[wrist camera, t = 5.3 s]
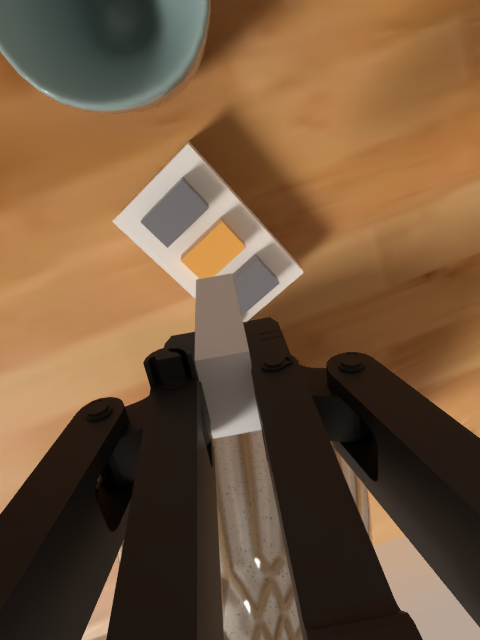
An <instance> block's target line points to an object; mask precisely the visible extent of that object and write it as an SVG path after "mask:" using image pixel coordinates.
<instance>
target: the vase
mask: <svg viewBox="0 0 480 640" xmlns="http://www.w3.org/2000/svg"><path fill="white" fill-rule="evenodd" d="M211 439H212V443H213V447H214V455H215V474H216V494H217V514H218V533H219V553H220V572H221V592H222V611H223V631H224V640H303V638H302V633H301V628H300V623H299V618H298V613H297V608H296V603H295V598H294V593H293V588H292V583H291V578H290V573H289V567H288V562H287V557H286V552H285V547H284V542H283V537H282V532H281V527H280V522H279V517H278V512H277V507H276V502H275V497H274V492H273V487H272V482H271V477H270V472H269V467H268V462H267V459H266V453H265V447H264V441H263V436H262V430H258V431H253V432H247V433H242V434H236V435H231V436H225V437H220V438H214V439H213V437H212V432H211ZM330 442H331V444H332V447H333V449H334V452H335V454H336V457H337V459H338V462H339V464H340V467H341V469H342V471H343V474H344V476H345V479H346V481H347V484H348V486H349V489H350V491H351V494H352V496H353V498H354V501H355V503H356V506H357V508H358V511H359V513H360V516H361V518H362V521H363V523H364V525H365V528H366V530H367V533H368V535H369V538H370V540H371V543H372V523H371V512H370V503H369V496H368V491H367V488H366V486H365V485H364V484H363V483H362V481H361V480H360V479H359V478H358V476H357V475H356V474H355V473H354V472H353V470H352V469H351V468H350V467H349V465H348V464H347V463H346V462H345V460H344V459H343V458H342V457H341V455H340V454H339V453H338V452H337V451H336V449H335V447H334V445H333V443H332V441H330ZM123 543H124V541H123ZM123 543H122V545H121V548H120V550H119V552H118V560H119V565H120V560H121V554H122V548H123Z"/></svg>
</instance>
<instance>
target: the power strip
mask: <svg viewBox="0 0 480 640" xmlns="http://www.w3.org/2000/svg"><path fill="white" fill-rule="evenodd" d="M112 222H113V223H114V224H116V225H117V226H118V227H119V228H120V229H121V230H122V231H123V232H124V233H125V234H126V235H127V236H128V237H129V238H131V239H132V240H133V241H134V242H135V243H136V244H137V245H138V246H139V247H140V248H141V249H142V250H143V251H145V252H146V253H147V254H148V255H149V256H150V257H151V258H152V259H153V260H154V261H155V262H156V263H157V264H159V265H160V266H161V267H162V268H163V269H164V270H165V271H166V272H167V273H168V274H169V275H170V276H171V277H173V278H174V279H175V280H176V281H177V282H178V283H179V284H180V285H181V286H182V287H183V288H184V289H185V290H186V291H188V292H189V293H190V294H191V295H192V296H193V297H194V298H195V299H196V280H197V279H202V278H208V277H214V276H219V275H225V274H230V273H232V275H233V280H234V284H235V289H236V293H237V298H238V302H239V307H240V312H241V316H242V321H243V322H247V321H248V320H249V319H250V318H252V317H253V316H254V315H255V314H256V313H257V312H259V311H260V310H261V309H262V308H263V307H264V306H266V305H267V304H268V303H269V302H270V301H271V300H272V299H274V298H275V297H276V296H277V295H278V294H279V293H281V292H282V291H283V290H284V289H285V288H286V287H288V286H289V285H290V284H291V283H292V282H293V281H295V280H296V279H297V278H298V277H299V276H300V275H301V274H303V273H304V272H303V270H302V269H301V267H300V266H299V264H298V263H297V261H296V260H295V259H294V258H293V257H292V255H291V254H290V253H289V252H288V251H287V250H286V249H285V248H284V247H283V245H282V244H281V243H280V242H279V241H278V240H277V239H276V238H275V236H274V235H273V234H272V233H271V232H270V231H269V230H268V229H267V228H266V226H265V225H264V224H263V223H262V222H261V221H260V220H259V219H258V218H257V216H256V215H255V214H254V213H253V212H252V211H251V210H250V209H249V208H248V206H247V205H246V204H245V203H244V202H243V201H242V200H241V199H240V197H239V196H238V195H237V194H236V193H235V192H234V191H233V190H232V189H231V187H230V186H229V185H228V184H227V183H226V182H225V181H224V180H223V179H222V177H221V176H220V175H219V174H218V173H217V172H216V171H215V170H214V169H213V167H212V166H211V165H210V164H209V163H208V162H207V161H206V160H205V159H204V157H203V156H202V155H201V154H200V153H199V152H198V151H197V150H196V148H195V147H194V146H193V145H192V144H191V143H190V142H189V141H188V142H187V143H186V144H185V145H184V147H183V148H182V149H181V150H180V151H179V152H178V153H177V154H176V155H175V156H174V157H173V158H172V159H171V160H170V161H169V162H168V163H167V164H166V165H165V166H164V167H163V168H162V169H161V170H160V171H159V172H158V173H157V174H156V176H155V177H154V178H153V179H152V180H151V181H150V182H149V183H148V184H147V185H146V186H145V187H144V188H143V189H142V190H141V191H140V192H139V193H138V194H137V195H136V196H135V197H134V198H133V199H132V200H131V201H130V202H129V203H128V205H127V206H126V207H125V208H124V209H123V210H122V211H121V212H120V213H119V214H118V215H117V217H116V218H115V219H114V220H113V221H112Z"/></svg>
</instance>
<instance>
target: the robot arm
mask: <svg viewBox="0 0 480 640" xmlns="http://www.w3.org/2000/svg"><path fill="white" fill-rule="evenodd" d="M143 363H144V367H145V370H146V373H147V377H148V380H149V383H150V387H151V389H150V395H149V396H148V397H146V398H145V399H143V400H141V401H139V402H136V403H134V404H131V405H129V406H126V407H125V406H124V404H123V401H122V400H120V399H118V398H114V397H107V398H100V399H97V400H94V401H92V402H90V403H89V404H87V405H85V406H84V407H82V408H81V409H80V410H79V411H78V412H77V413H76V415H75V416H74V417H73V419H72V420H71V421H70V423H69V424H68V425H67V427H66V428H65V429H64V431H63V432H62V433H61V435H60V436H59V437H58V439H57V440H56V441H55V443H54V444H53V445H52V447H51V448H50V449H49V451H48V452H47V453H46V455H45V456H44V457H43V459H42V460H41V461H40V463H39V464H38V465H37V467H36V468H35V469H34V470H33V472H32V473H31V474H30V476H29V477H28V478H27V480H26V481H25V482H24V484H23V485H22V486H21V488H20V489H19V490H18V492H17V493H16V494H15V496H14V497H13V498H12V500H11V501H10V502H9V504H8V505H7V506H6V508H5V509H4V510H3V512H2V513H1V514H0V640H81V639H82V636H83V634H84V632H85V629H86V627H87V625H88V622H89V620H90V618H91V615H92V613H93V611H94V608H95V606H96V604H97V601H98V599H99V597H100V594H101V592H102V590H103V587H104V585H105V583H106V580H107V578H108V576H109V573H110V571H111V569H112V566H113V564H114V562H115V559H116V557H117V555H118V552H119V550H120V548H121V545H122V543H123V541H124V543H123V548H122V554H121V560H120V565H119V571H118V577H117V582H116V588H115V594H114V599H113V605H112V611H111V616H110V622H109V628H108V633H107V639H106V640H224V631H223V611H222V592H221V572H220V553H219V533H218V514H217V494H216V474H215V455H214V447H213V443H212V439H211V432H212V437H213V439H214V438H220V437H225V436H231V435H236V434H242V433H247V432H253V431H258V430H262V436H263V441H264V447H265V453H266V459H267V462H268V467H269V472H270V477H271V482H272V487H273V492H274V497H275V502H276V507H277V512H278V517H279V522H280V527H281V532H282V537H283V542H284V547H285V552H286V557H287V562H288V567H289V573H290V578H291V583H292V588H293V593H294V598H295V603H296V608H297V613H298V618H299V623H300V628H301V633H302V638H303V640H423V639H422V637H421V635H420V633H419V631H418V629H417V627H416V625H415V623H414V621H413V620H412V618H411V617H410V616H409V614H408V613H407V612H404V611H401V610H400V608H399V607H398V605H397V603H396V601H395V599H394V597H393V595H392V592H391V590H390V587H389V584H388V582H387V580H386V577H385V575H384V572H383V570H382V567H381V565H380V563H379V560H378V557H377V555H376V552H375V550H374V548H373V545H372V543H371V540H370V538H369V535H368V533H367V530H366V528H365V525H364V523H363V521H362V518H361V516H360V513H359V511H358V508H357V506H356V503H355V501H354V498H353V496H352V494H351V491H350V489H349V486H348V484H347V481H346V479H345V476H344V474H343V471H342V469H341V467H340V464H339V462H338V459H337V457H336V454H335V452H334V449H333V447H332V444H331V442H330V441H332V443H333V445H334V447H335V449H336V451H337V452H338V453H339V454H340V455H341V457H342V458H343V459H344V460H345V462H346V463H347V464H348V465H349V467H350V468H351V469H352V470H353V472H354V473H355V474H356V475H357V476H358V478H359V479H360V480H361V481H362V483H363V484H364V485H365V486H366V488H367V489H368V490H369V491H370V493H371V494H372V495H373V496H374V497H375V499H376V500H377V501H378V502H379V504H380V505H381V506H382V507H383V509H384V510H385V511H386V512H387V513H388V515H389V516H390V517H391V518H392V520H393V521H394V522H395V523H396V525H397V526H398V527H399V528H400V530H401V531H402V532H403V533H404V534H405V536H406V537H407V538H408V539H409V541H410V542H411V543H412V544H413V545H414V547H415V548H416V549H417V550H418V552H419V553H420V554H421V555H422V557H423V558H424V559H425V560H426V561H427V563H428V564H429V565H430V567H431V568H432V569H433V570H434V571H435V573H436V574H437V575H438V576H439V577H440V579H441V580H442V581H443V583H444V584H445V585H446V586H447V588H448V589H449V590H450V591H451V592H452V594H453V595H454V596H455V597H456V599H457V600H458V601H459V602H460V604H461V605H462V606H463V607H464V609H465V610H466V611H467V612H468V613H469V615H470V616H471V617H472V618H473V620H474V621H475V622H476V623H477V624H478V626H479V627H480V438H479V437H477V436H476V435H475V434H473V433H472V432H471V431H469V430H468V429H467V428H465V427H464V426H463V425H461V424H460V423H459V422H457V421H456V420H455V419H453V418H452V417H451V416H449V415H448V414H447V413H445V412H444V411H443V410H441V409H440V408H439V407H437V406H436V405H435V404H433V403H432V402H431V401H429V400H428V399H427V398H425V397H424V396H423V395H422V394H420V393H419V392H418V391H416V390H415V389H414V388H412V387H411V386H410V385H408V384H407V383H406V382H404V381H403V380H402V379H400V378H399V377H398V376H396V375H395V374H394V373H392V372H391V371H390V370H388V369H387V368H386V367H384V366H383V365H382V364H380V363H379V362H378V361H376V360H375V359H374V358H372V357H370V356H368V355H366V354H362V353H358V352H346V353H342V354H338V355H336V356H334V357H332V358H331V359H330V360H329V361H328V362H327V366H326V368H309V367H304V366H301V365H299V363H298V361H297V360H296V358H295V357H294V356H292V355H291V354H290V352H289V349H288V347H287V344H286V342H285V339H284V337H283V334H282V332H281V329H280V327H279V324H278V322H276V321H275V320H273V319H272V318H270V317H269V318H263V319H258V320H252V321H247V322H243V321H242V316H241V312H240V307H239V302H238V298H237V293H236V289H235V284H234V280H233V275H232V273H230V274H225V275H219V276H214V277H208V278H202V279H197V280H196V311H195V332H192V333H186V334H180V335H175V336H171V337H170V339H169V340H168V341H167V342H166V343H165V346H164V348H162V349H159V350H157V351H155V352H153V353H151V354H150V355H149V356H148V357H146V359H145V361H144V362H143Z"/></svg>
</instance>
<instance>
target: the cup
mask: <svg viewBox="0 0 480 640" xmlns="http://www.w3.org/2000/svg"><path fill="white" fill-rule="evenodd" d="M210 19H211V0H0V51H1V53H2V54H3V56H4V57H5V58H6V59H7V60H8V62H9V63H10V64H11V65H12V66H13V67H14V69H15V70H16V71H17V72H18V73H19V75H20V76H21V77H23V78H24V79H25V80H26V81H27V82H29V83H30V84H31V85H32V86H33V87H35V88H36V89H37V90H38V91H40V92H41V93H43V94H44V95H46V96H48V97H50V98H52V99H54V100H56V101H58V102H60V103H62V104H64V105H67V106H71V107H74V108H78V109H81V110H85V111H89V112H99V113H112V114H126V113H135V112H142V111H146V110H149V109H152V108H155V107H158V106H160V105H162V104H164V103H166V102H168V101H170V100H172V99H173V98H175V97H176V96H177V95H178V94H179V93H180V92H182V91H183V90H184V89H185V88H186V87H187V86H188V84H189V83H190V81H191V80H192V79H193V77H194V76H195V75H196V73H197V71H198V68H199V66H200V63H201V61H202V59H203V56H204V53H205V48H206V43H207V38H208V33H209V27H210Z"/></svg>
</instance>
